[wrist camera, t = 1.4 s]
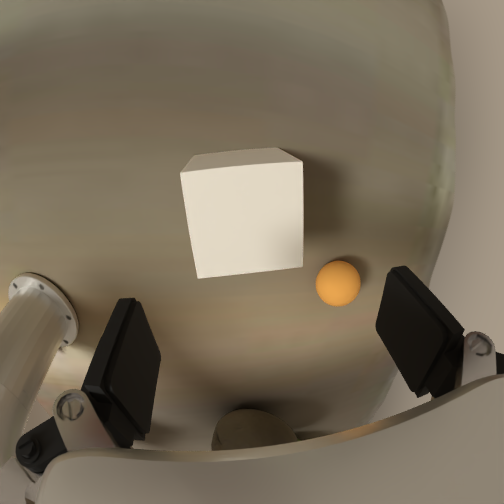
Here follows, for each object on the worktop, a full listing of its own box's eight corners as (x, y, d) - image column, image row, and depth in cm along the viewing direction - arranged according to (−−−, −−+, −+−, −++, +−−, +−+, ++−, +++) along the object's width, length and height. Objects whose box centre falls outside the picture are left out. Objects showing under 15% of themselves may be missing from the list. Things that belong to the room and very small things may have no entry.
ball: (333, 295, 33) (347, 320, 29) (302, 280, 32) (314, 306, 27) (357, 263, 31) (376, 286, 27) (327, 245, 30) (344, 268, 25)
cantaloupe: (231, 432, 48) (236, 496, 35) (197, 402, 41) (196, 481, 28) (297, 415, 47) (313, 481, 34) (276, 382, 40) (293, 466, 27)
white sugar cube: (280, 223, 28) (302, 266, 20) (204, 231, 28) (197, 278, 20) (276, 147, 25) (302, 161, 17) (193, 155, 24) (180, 172, 16)
